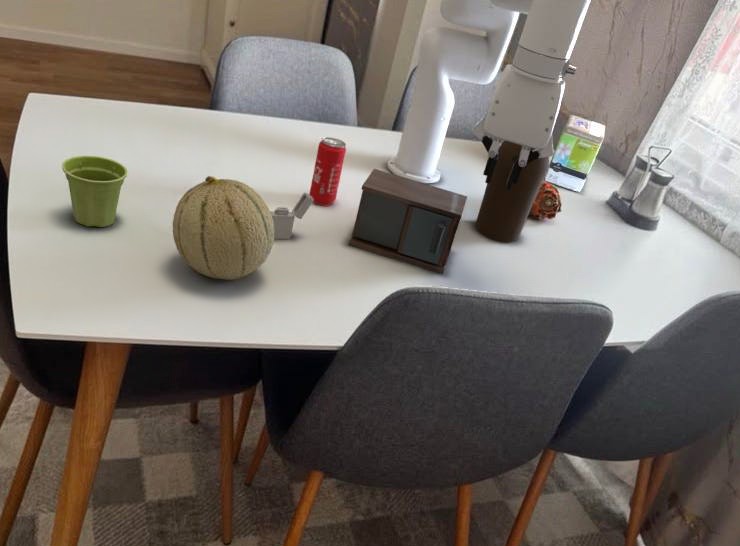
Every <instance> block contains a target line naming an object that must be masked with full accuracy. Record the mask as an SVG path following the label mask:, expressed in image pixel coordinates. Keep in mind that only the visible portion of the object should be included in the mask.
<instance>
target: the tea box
mask: <svg viewBox="0 0 740 546" xmlns="http://www.w3.org/2000/svg"><path fill="white" fill-rule="evenodd" d="M605 131H606V125H604V124H601V123H598V122H595V121H592V120H589V119H586V118H583V117H581V116H577V115H573V114H569V116H568V118H567V120H566V123H565V125H564V127H563V129H562V132H561V134H560V137H559V140H558V142H557V145H556V147H555V149H554V153H553V155H552V156H551V160H550V161H549V167H548V171H547V173H546V175H545V178H544V181H546V182H549V183H550V184H553V185H555V186H559V187H561V188H565V189H568V190H571V191H574V192H578V193H580V192H581V191H582V189H583V187H584V184H585V182H586V180H587V178H588V175H589V174H590V171H591V169H592V167H593V164H594V162H595V160H596V157H597V155H598V153H599V150H600V148H601V145H602V143H603V142H604V138H605Z"/></svg>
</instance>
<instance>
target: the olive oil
mask: <svg viewBox="0 0 740 546" xmlns="http://www.w3.org/2000/svg"><path fill="white" fill-rule="evenodd" d="M521 149H522V145H519V144H516V143H512V142H509V141H506V140H503V141H502V142H501V144H500V146H499V149H498V160H497V163H496V166H495V169H494V172H493V175H492V178H491V181H490V183H486V186H485V190H484V194H483V196H482V200H481V204H480V206H479V211H478V213H477V216H476V220H475V224H474V227H475V229H476V231H477V232H479V233H480V234H482V235H483V236H484V237H486V238H489V239H490V240H494V241H497V242H501V243H514V242H517V241H518V240H519V238H520V236H521V233H522V231H523V228H524V227H525V224H526V221H527V219H528V217H529V215H530V214H529V212H530V210H531V207H532V205H533V203H534V200H535V198H536V196H537V193H538V191H539V189H540V187H541V184H542V182H543V180H544V181H545V177H546V174H547V171H548V168H549V165H550V157H544V158H538V159H536V160H534V161H532V162H530V163H528V164H526V165H525V166H524V167H523V168H522V171H521V173H520V176H519V179H518V182H517V184H512V186H511V189H510V190H508V189H507V188H506V184H507V181H508V178H509V175H510V172H511V169H512V166H513V164H514V161H516V160H517V158H518V157H519V156H520V152H521ZM533 149H534V148H531V149H530V151H531V150H533Z"/></svg>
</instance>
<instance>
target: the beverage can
mask: <svg viewBox="0 0 740 546" xmlns="http://www.w3.org/2000/svg"><path fill="white" fill-rule="evenodd" d="M346 145H347V144H346V142H344V141H342V140H341V139H338V138H335V137H329V136H327V137H322V138H321V139H320V141H319V142H318V147H317V153H316V158H315V163H314V168H313V173H312V179H311V183H310V184H311V185H310V188H309V189H310V190H309V195H310V196H312V198H313V199H314V201H313V203H314V204H315V205H318V206H322V207H331V206H332V205H333V204H334V202H335V201H336V199H337V194H338V190H339V185H340V180H341V175H342V171H343V166H344V161H345V158H346V157H345V156H346V152H347V147H346ZM313 203H312V204H313Z"/></svg>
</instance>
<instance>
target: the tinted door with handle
mask: <svg viewBox="0 0 740 546" xmlns="http://www.w3.org/2000/svg"><path fill="white" fill-rule="evenodd" d="M455 222H456V218H453V217H449V216H446V215H443V214H440V213H436V212H433V211H430V210H426V209H423V208H420V207H417V206H414V205H410V207H409V211H408V214H407V218H406V222H405V225H404V229H403V232H402V236H401V240H400V243H399V247H398V250H397V252H398V253H401V254H405V255H408V256H411V257H414V258H418V259H421V260H424V261H427V262H431V263H434V264H437V265H440V266H442V262H443V259H444V256H445V253H446V250H447V247H448V244H449V241H450V237H451V234H452V231H453V228H454V225H455Z"/></svg>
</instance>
